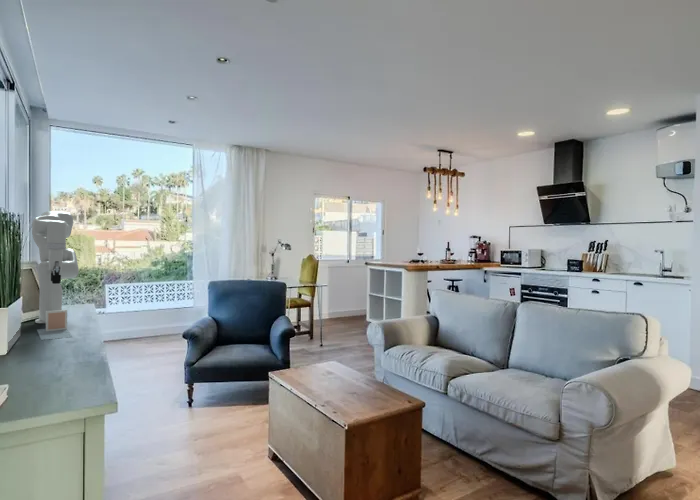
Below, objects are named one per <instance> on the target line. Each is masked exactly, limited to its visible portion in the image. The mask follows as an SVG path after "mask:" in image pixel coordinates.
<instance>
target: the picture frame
mask: <svg viewBox="0 0 700 500" xmlns="http://www.w3.org/2000/svg"><path fill="white" fill-rule="evenodd" d="M45 329H46V331H53V330H64V329H67V330H68V309H62V310H55V311H46V323H45Z"/></svg>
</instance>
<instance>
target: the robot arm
mask: <svg viewBox="0 0 700 500" xmlns="http://www.w3.org/2000/svg"><path fill="white" fill-rule="evenodd" d="M73 226H74V217H73V215H72V214H71V212H67V211H54V210H52V211H51V210H48V211H45V212H42V214H41V215H40V216H37V217H35V218H33V220H32V222H31V227H32V230H31V233H32V238H33V241H34V243H35V244H36V246H37V248H38V251H39V252H38V253H39V260H40V262H39V264H38V265H37V275H38V283H39V285H38V287H39V296H38V297H39V302H38V305H39V306H38V307H39V312H38V314H39V315H38V318H36V319H35V323H36V324H46V311H55V310H63V309H62V308H63V306H62V305H63V288H62V285H61V283H62V282H61V280H64V279H75V278H77V277H78V275H79V272H80V271H79V270H80V269H79V263H78V259H77V258H78V257H77V254H76V252H75V250H74V249H72V248H67V239H68V238H70V236H71V234H72V229H73Z"/></svg>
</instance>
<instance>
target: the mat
mask: <svg viewBox="0 0 700 500" xmlns="http://www.w3.org/2000/svg"><path fill="white" fill-rule="evenodd" d="M36 331H37V333H38V335H39V338H40V340H41V341H45V340H48V341H51V340H55V339H58V340H59V339H64V338H66V339H69V338H73V336H72V334H71V333H70V331H69V330H68V328H67V329H64V330H53V331H46V328H40V329H36Z"/></svg>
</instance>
